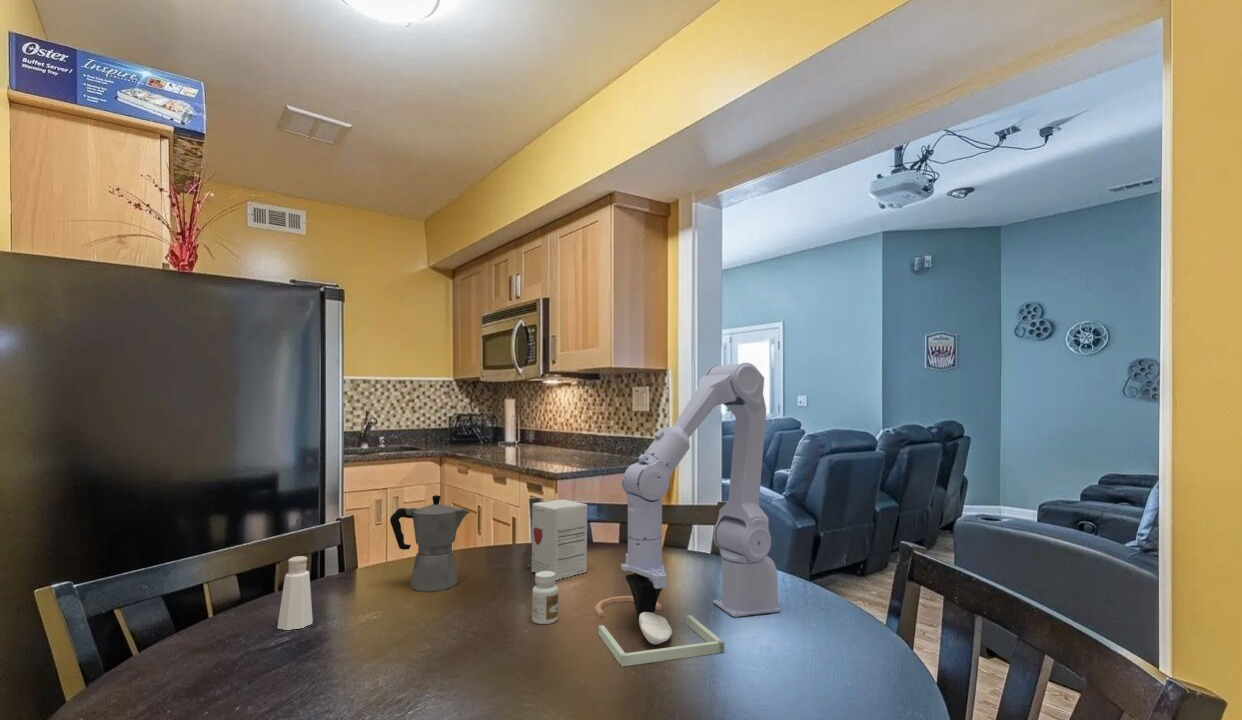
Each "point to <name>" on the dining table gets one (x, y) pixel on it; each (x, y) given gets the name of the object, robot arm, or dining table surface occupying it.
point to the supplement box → (559, 537)
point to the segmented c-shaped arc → (616, 599)
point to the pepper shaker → (296, 596)
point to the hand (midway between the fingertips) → (645, 620)
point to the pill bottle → (545, 598)
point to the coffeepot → (431, 544)
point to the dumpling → (654, 627)
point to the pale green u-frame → (670, 653)
